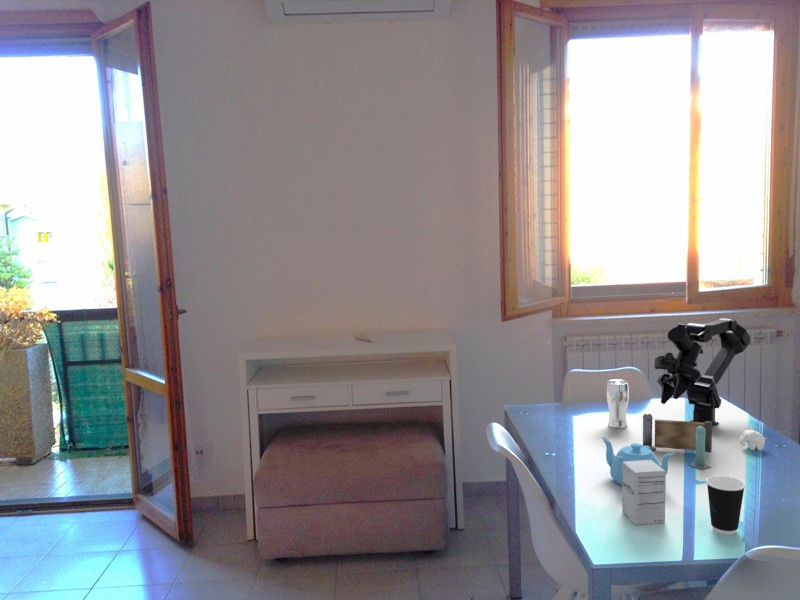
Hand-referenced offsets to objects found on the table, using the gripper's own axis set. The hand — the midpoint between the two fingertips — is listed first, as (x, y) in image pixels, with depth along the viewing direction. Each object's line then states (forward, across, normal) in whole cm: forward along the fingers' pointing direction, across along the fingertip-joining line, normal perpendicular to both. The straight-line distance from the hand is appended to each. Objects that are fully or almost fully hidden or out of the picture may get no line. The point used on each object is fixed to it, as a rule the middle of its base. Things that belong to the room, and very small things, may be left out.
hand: (668, 401), depth 213 cm
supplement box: (+45, +45, -9) cm, 64 cm away
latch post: (+19, +18, +9) cm, 28 cm away
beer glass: (+10, -18, -6) cm, 21 cm away
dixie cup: (+40, +52, +6) cm, 66 cm away
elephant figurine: (+4, +8, +25) cm, 27 cm away
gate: (+14, +8, +7) cm, 18 cm away
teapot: (+34, +26, -8) cm, 44 cm away
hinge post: (+18, +4, -1) cm, 19 cm away
